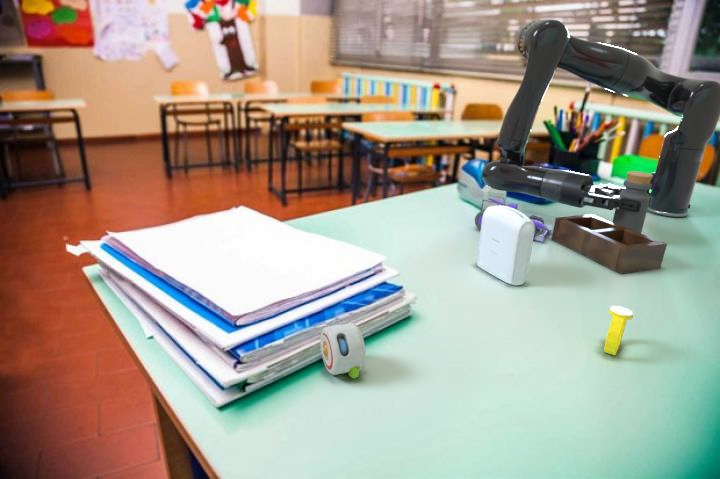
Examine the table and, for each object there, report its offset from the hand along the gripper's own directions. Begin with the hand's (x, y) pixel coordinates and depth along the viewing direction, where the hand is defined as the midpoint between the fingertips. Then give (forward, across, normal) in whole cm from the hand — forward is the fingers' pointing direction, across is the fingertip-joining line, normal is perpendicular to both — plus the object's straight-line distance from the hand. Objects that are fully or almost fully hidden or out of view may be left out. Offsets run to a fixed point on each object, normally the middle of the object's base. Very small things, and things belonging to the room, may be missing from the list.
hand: (645, 204), depth 102 cm
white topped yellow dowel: (+11, -47, +9) cm, 49 cm away
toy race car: (-22, -13, +9) cm, 27 cm away
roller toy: (-11, -77, +9) cm, 78 cm away
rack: (-3, -11, +9) cm, 14 cm away
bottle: (-2, 0, +9) cm, 10 cm away
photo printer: (-12, -36, +9) cm, 39 cm away
